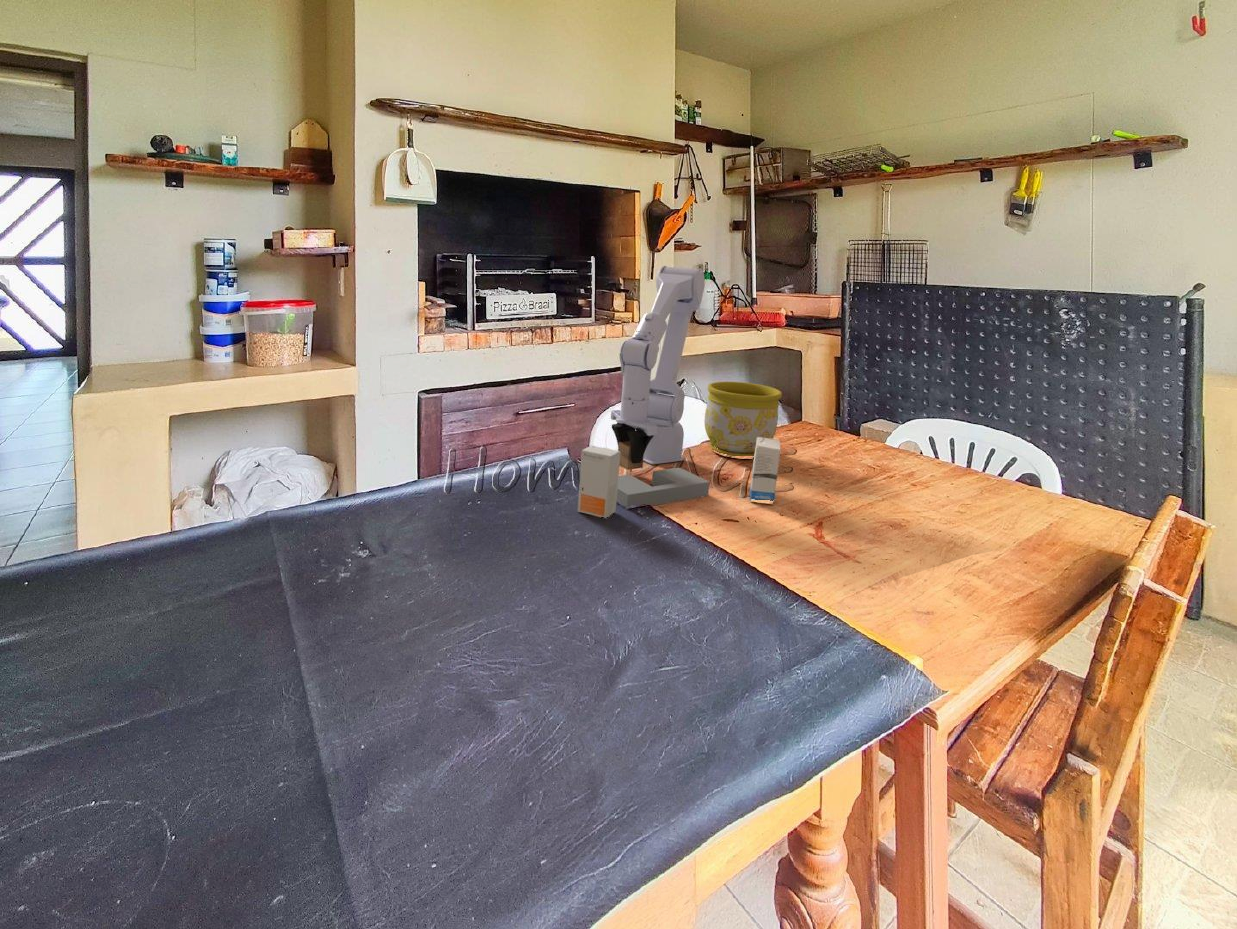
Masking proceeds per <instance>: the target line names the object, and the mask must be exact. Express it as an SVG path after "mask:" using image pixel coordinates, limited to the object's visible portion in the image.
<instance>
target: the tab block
mask: <svg viewBox="0 0 1237 929" xmlns="http://www.w3.org/2000/svg"><path fill="white" fill-rule="evenodd" d="M617 451H620V452H621V454H620V464H619V467H621V468H622V469H624V470H628V471H629V470H635V469H642V468H643V466H644V461H643V458H644V455H643V458H642V461H641V463H632V461H631V444H630V441H625V442H619V443H617Z"/></svg>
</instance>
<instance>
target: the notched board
mask: <svg viewBox="0 0 1237 929" xmlns="http://www.w3.org/2000/svg"><path fill="white" fill-rule="evenodd" d="M710 484H711V482H710V481H709V480H707V479H705V478H702V477H700V476H698V475H696V474H694V473H692V472H690V471H688V470H686V469H684V468H681V467H673V468H666V469H658V470H653V471H652V478H651V485H652V486H651V485H649V483H646V482H645V481H642V480H640V479H638V478H637V477H635V476H633V475H631V474H629V473H628V474H622V475H619V476H618V488H617V500H616V502H618V503H620V504H621V505H625V506H626V507H629V506H631V505H638V504H646V505H651V506H657V505H663V504H667V503H674V502H675V503H676V502H679V501H685V500H691V499H698V498H703V497H702V496H704V497H707V496H706V495H708V496H709V492H710V491H709V490H710ZM651 506H650V507H651Z"/></svg>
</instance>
